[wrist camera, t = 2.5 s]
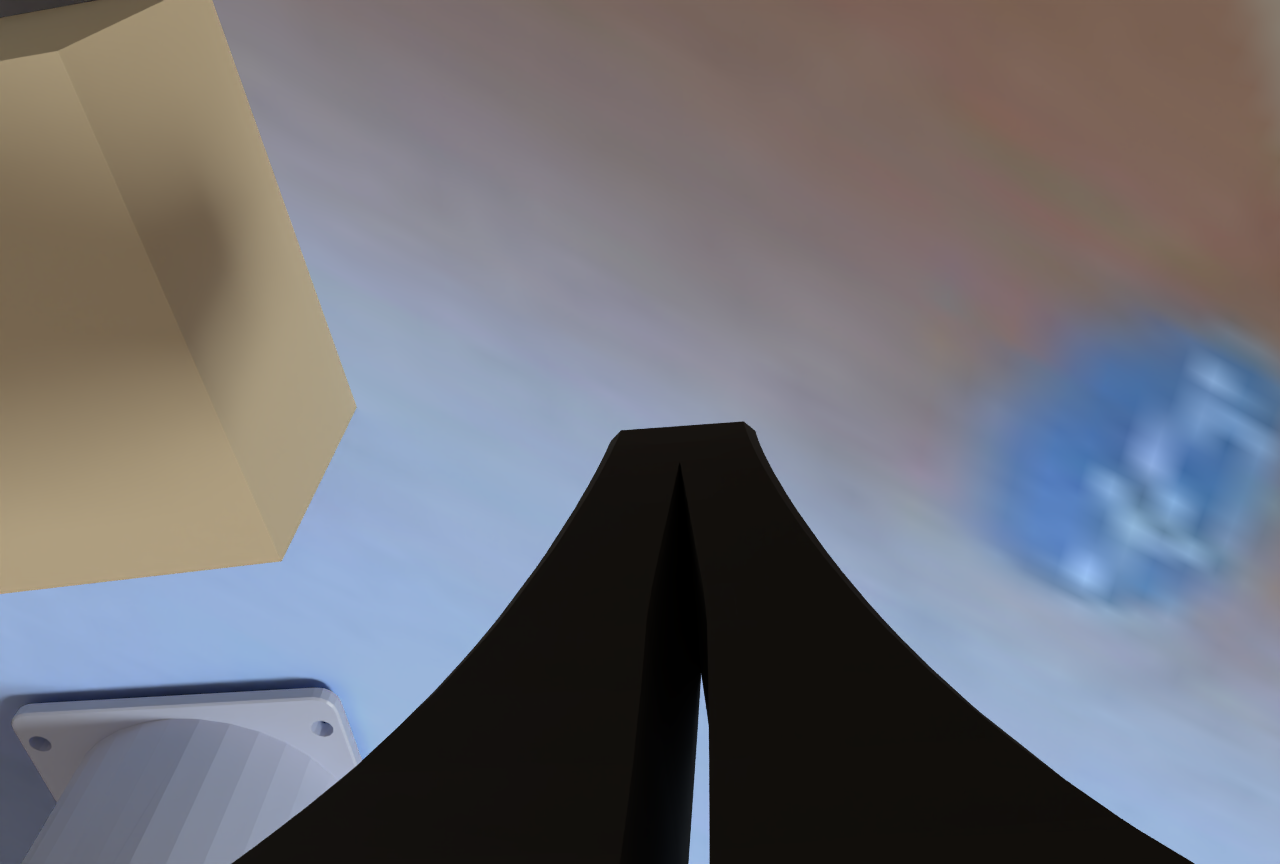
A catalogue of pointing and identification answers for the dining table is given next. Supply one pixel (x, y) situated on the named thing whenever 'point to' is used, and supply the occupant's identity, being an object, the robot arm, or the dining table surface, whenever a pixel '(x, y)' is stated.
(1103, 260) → the dining table surface
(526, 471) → the dining table surface
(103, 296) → the carton
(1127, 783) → the dining table surface
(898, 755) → the robot arm
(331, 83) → the dining table surface
